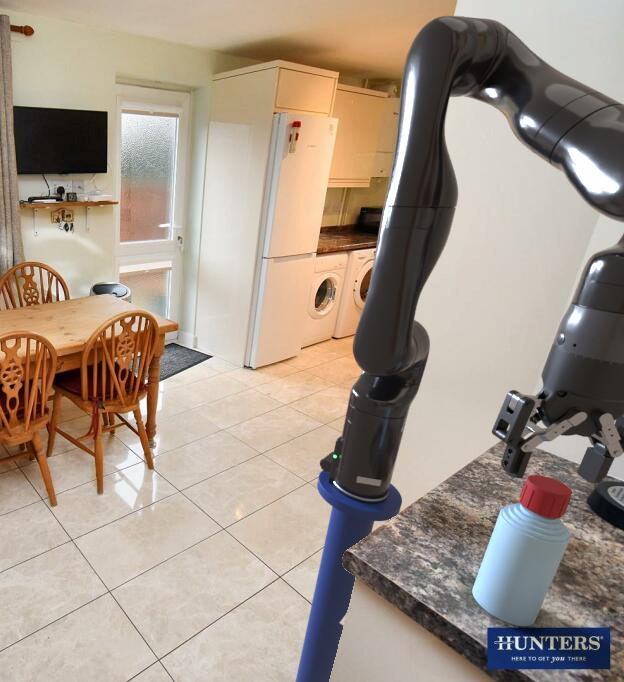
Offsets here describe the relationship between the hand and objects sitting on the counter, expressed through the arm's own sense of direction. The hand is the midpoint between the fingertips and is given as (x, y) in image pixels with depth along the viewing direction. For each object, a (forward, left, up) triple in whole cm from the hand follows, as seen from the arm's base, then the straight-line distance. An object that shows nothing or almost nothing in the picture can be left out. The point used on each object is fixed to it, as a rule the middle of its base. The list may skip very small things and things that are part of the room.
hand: (549, 476), depth 53 cm
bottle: (0, 0, -20) cm, 20 cm away
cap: (0, -1, -4) cm, 4 cm away
